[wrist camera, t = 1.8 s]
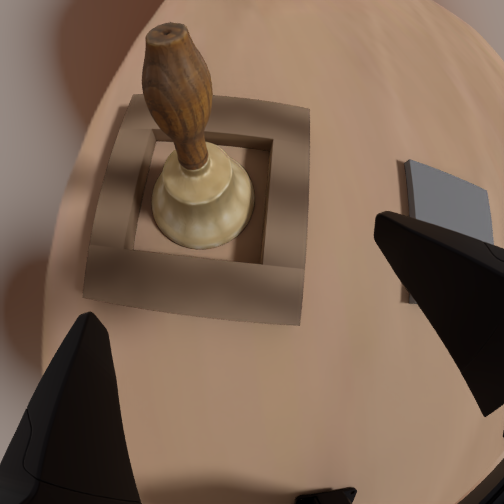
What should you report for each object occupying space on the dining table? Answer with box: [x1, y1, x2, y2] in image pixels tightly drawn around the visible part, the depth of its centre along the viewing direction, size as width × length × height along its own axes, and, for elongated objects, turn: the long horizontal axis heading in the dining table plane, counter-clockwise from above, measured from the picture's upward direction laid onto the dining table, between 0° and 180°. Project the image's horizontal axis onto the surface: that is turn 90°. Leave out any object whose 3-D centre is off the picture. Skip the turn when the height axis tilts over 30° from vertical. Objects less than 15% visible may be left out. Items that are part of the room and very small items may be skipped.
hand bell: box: [142, 22, 255, 249], centre depth 14 cm, size 8×8×16 cm
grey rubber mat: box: [404, 159, 494, 304], centre depth 23 cm, size 14×14×1 cm
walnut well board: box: [83, 94, 310, 326], centre depth 20 cm, size 18×16×2 cm
